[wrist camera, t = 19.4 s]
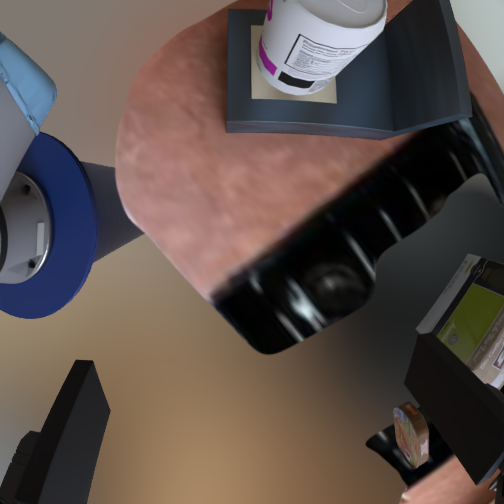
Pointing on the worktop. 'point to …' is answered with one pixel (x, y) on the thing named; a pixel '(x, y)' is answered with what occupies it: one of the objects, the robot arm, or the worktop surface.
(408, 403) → the tin
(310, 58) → the supplement can
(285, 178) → the worktop surface
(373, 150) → the worktop surface
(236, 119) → the chair
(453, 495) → the worktop surface
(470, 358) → the tea box
